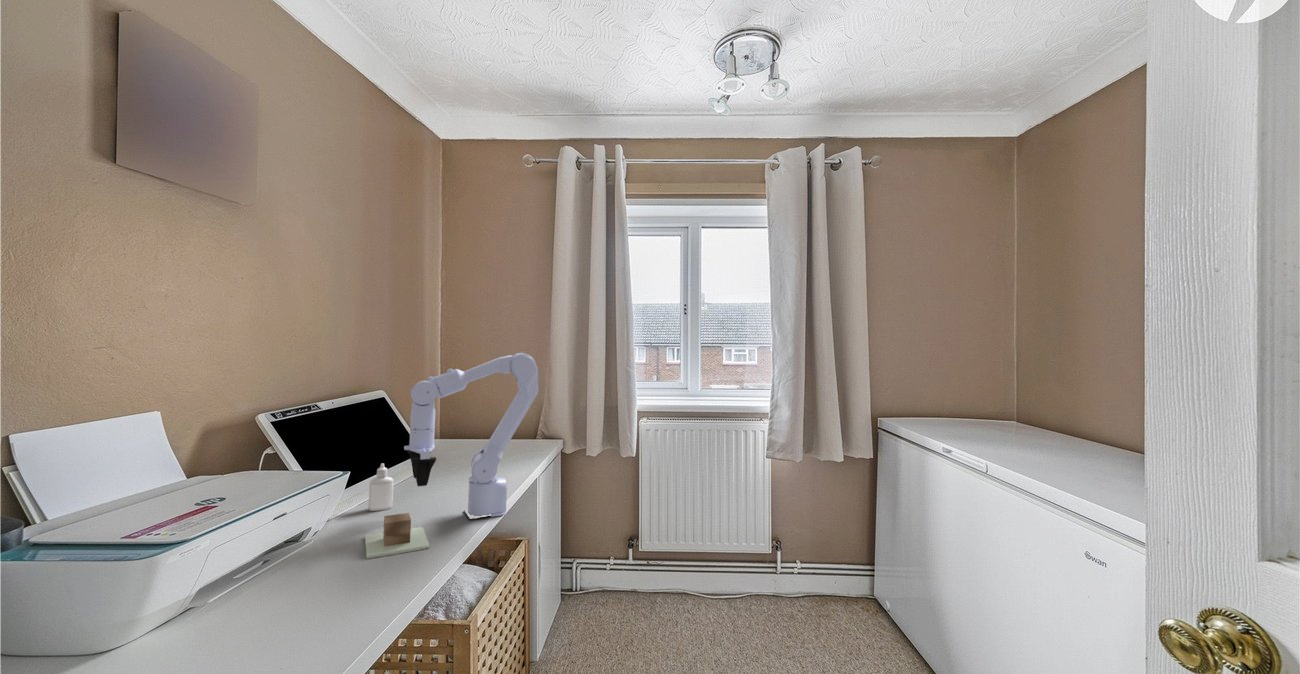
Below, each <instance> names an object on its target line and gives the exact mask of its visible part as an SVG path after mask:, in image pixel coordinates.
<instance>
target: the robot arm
mask: <svg viewBox="0 0 1300 674" xmlns="http://www.w3.org/2000/svg"><path fill="white" fill-rule="evenodd" d="M510 372H511V373H512V375H513V376H514V378H515V379H516V382H517V383H516V385H517V388H518V391H517V393H516V395H515V396H514V398H513V400H512V401H511V403H510V405H509V406H508V408H507V410H506V411H505V413H504V414H503V416H502V418H501V419H500V422H499V423H498V424H497V426H496V428H495V429H494V431H493V433H492V434H491V436H490V438H489V439H488V441H487V442H486V443H485V444H484V446H483V447H482V448H481V450H480V451H479V452H477V453H475V455H473V457H472V459H471V471H470V472H471V475H470V477H469V478H468V494H467V495H468V500H467V508H468V513H469V514H470V515H474V516H482V515H489V514H491V517H490V518H494V517H499V516H506V515H507V497H508V496H507V492H508V491H507V489H508V488H507V486H508V485H507V481H506V478H505V477H498V475H497V473H498V465H499V463H500V462H501V460H502V457H503V454H504V452H505V449H506V447H507V446H508V445H509V442H511V439H512V438H513V436H514V434H515V433H516V431H517V429H518V428H519V426H520V425H521V423H522V421H523V419H524V417H525V416H526V415H527V413H528V411H529V409H530V407H531V406H532V404H533V402H534V401H535V399H536V397H537V396H538V393H539V376H538V375H539V368H538V366H537V363H536V360H535V358H533V356H531V355H529V354H527V353H524V352H517V353H515V354H509V355H505V356H500V357H498V358H495V359H491V360H489V361H487V362H485V363H482V364H479V365H477V366H474V367H471V368H470V369H467V370H464V371H462V370H461V369H458V368H455V369H453V368H448V369H446V372H444V373H442V374H439V375H436V376H432V375H431V376H428V377H427V380H421V381H419V382H417V383H416V384H414V385H413V387H412V388H411V390H410V397H411V400H412V402H411V405H410V406H411V411H410V419H409V420H410V421H409V422H410V423H409V443H408V445H404V447H403V449H404V451H407V454H408V456H409V459H410V462H411V467H412V477H413V478H414V479H415V480H416V484H417V487H426V486H427V485H428V483H429V479H430V476H431V471H432V470H433V469H432V468H433V467H434V465H435V463H436V461H437V457H436V456H434V457H430V456H431V453H432V451H433V450H434V449H435V448H436V447H435V446H436V444H435V432H436V430H435V429H436V427H435V426H436V408H435V406H436V405H435V403H436V401H435V399H437V398H439V399H443V398H445V397H448V396H450V395H453V394H456V393H458V392H461V391H463V390H465V389H466V388H467V386H468V384H469V383H471V382H473V381H476V380H479V379H483V378H485V377H488V376H491V375H494V374H497V373H500V374H507V375H510Z"/></svg>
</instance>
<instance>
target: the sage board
mask: <svg viewBox="0 0 1300 674" xmlns="http://www.w3.org/2000/svg"><path fill="white" fill-rule="evenodd" d="M383 535H384V532H379V533H372V534H366V535H364V540H365V554H366V555H365V556H366V559H367V560H368V559H372V558H379V557H380V558H381V557H386V556H390V555H392V556H393V555H396V554H397V555H398V554H402V553H407V552H408V553H409V552H415V551H419V550H421V549H422V550H427V549H430V543H429V541H428V538H427V534H426V531H425V529H424V527H423V526H419V527H413V528H411V531H410V543H404V544H397V545H391V546H384V539H383ZM426 548H427V549H426Z"/></svg>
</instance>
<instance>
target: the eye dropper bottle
mask: <svg viewBox="0 0 1300 674" xmlns="http://www.w3.org/2000/svg"><path fill="white" fill-rule="evenodd" d="M393 504H394V479H393V477H391V476H388V467H385V463H384V462H383V463H380V466H379V467H378V468H377V469H376V477H375V478H372V479H371V480H370V481H369V487H368V510H369V512H378V511H386V510H390V509H392V507H393V506H394V505H393Z"/></svg>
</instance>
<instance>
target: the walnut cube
mask: <svg viewBox="0 0 1300 674" xmlns="http://www.w3.org/2000/svg"><path fill="white" fill-rule="evenodd" d="M411 527H412V519H411V516H410V512H405V513H397V514H390V515H384V517H383V533H384V535H383V539H384V546H391V545H397V544H404V543H410V531H411V529H412V528H411Z"/></svg>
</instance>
